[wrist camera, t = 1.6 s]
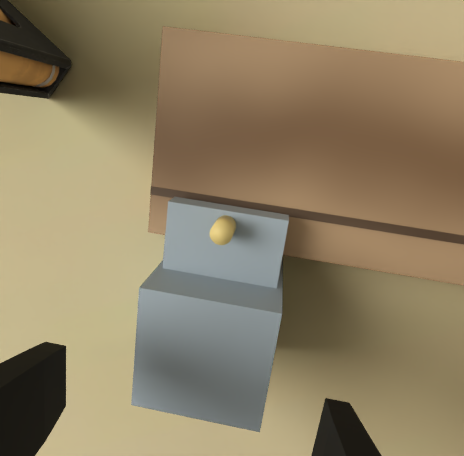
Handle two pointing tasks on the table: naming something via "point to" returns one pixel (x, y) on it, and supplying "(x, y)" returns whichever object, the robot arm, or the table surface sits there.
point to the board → (318, 146)
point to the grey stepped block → (211, 314)
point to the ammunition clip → (27, 57)
